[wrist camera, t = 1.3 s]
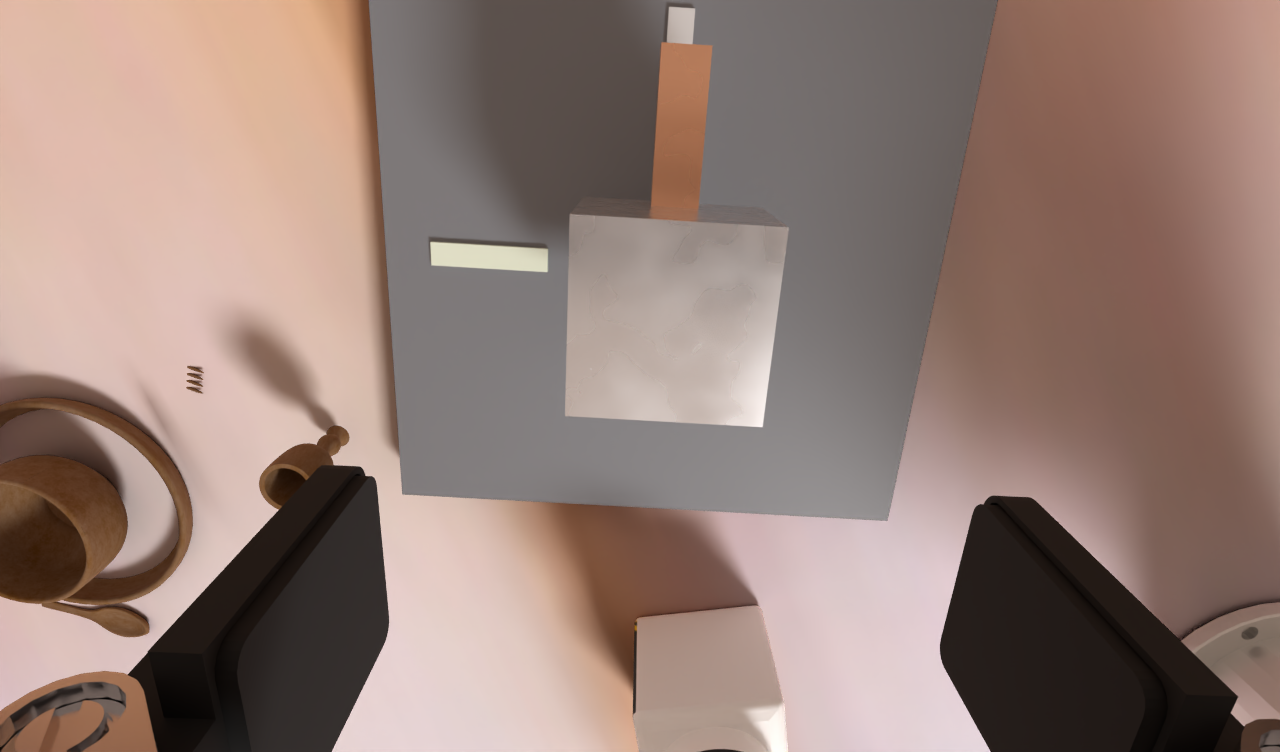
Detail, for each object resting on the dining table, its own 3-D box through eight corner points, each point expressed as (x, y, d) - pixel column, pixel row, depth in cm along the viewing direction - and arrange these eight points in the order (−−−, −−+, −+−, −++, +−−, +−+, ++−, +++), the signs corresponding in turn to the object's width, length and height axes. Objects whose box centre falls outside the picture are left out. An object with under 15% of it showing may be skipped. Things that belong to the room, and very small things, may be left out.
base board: (979, -20, 28) (1006, -32, 26) (874, 500, 36) (888, 523, 34) (382, -60, 27) (361, -75, 25) (415, 474, 36) (400, 496, 34)
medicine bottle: (633, 614, 39) (629, 816, 28) (760, 601, 38) (809, 800, 27) (649, 711, 41) (651, 933, 30) (769, 700, 41) (817, 920, 30)
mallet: (779, 54, 23) (814, 38, 18) (742, 374, 27) (762, 427, 22) (588, 42, 23) (574, 22, 18) (578, 364, 27) (564, 415, 22)
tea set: (-39, 307, 33) (-174, 343, 28) (374, 403, 35) (323, 456, 30) (-14, 596, 39) (-122, 674, 34) (338, 667, 41) (290, 752, 35)
